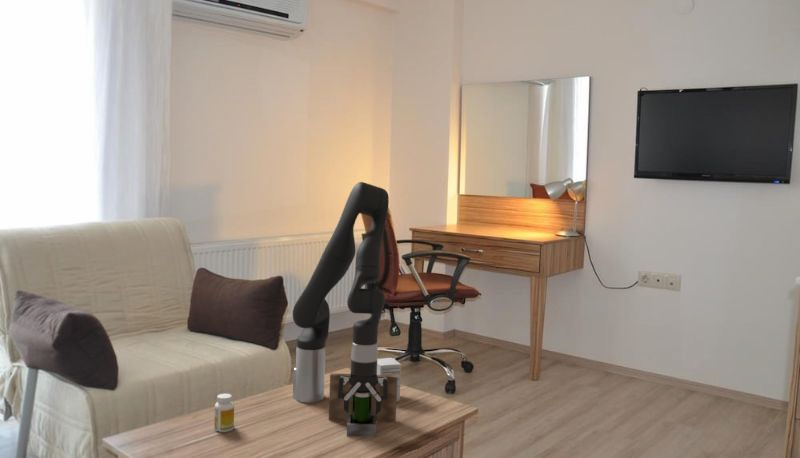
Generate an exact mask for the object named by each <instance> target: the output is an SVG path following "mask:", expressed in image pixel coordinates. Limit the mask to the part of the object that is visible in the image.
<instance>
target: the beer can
mask: <svg viewBox="0 0 800 458" xmlns="http://www.w3.org/2000/svg"><path fill="white" fill-rule="evenodd" d="M371 401H372V394H371V392H356V391H355V392H354V393H353V412H352V423H353V424H371Z"/></svg>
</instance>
